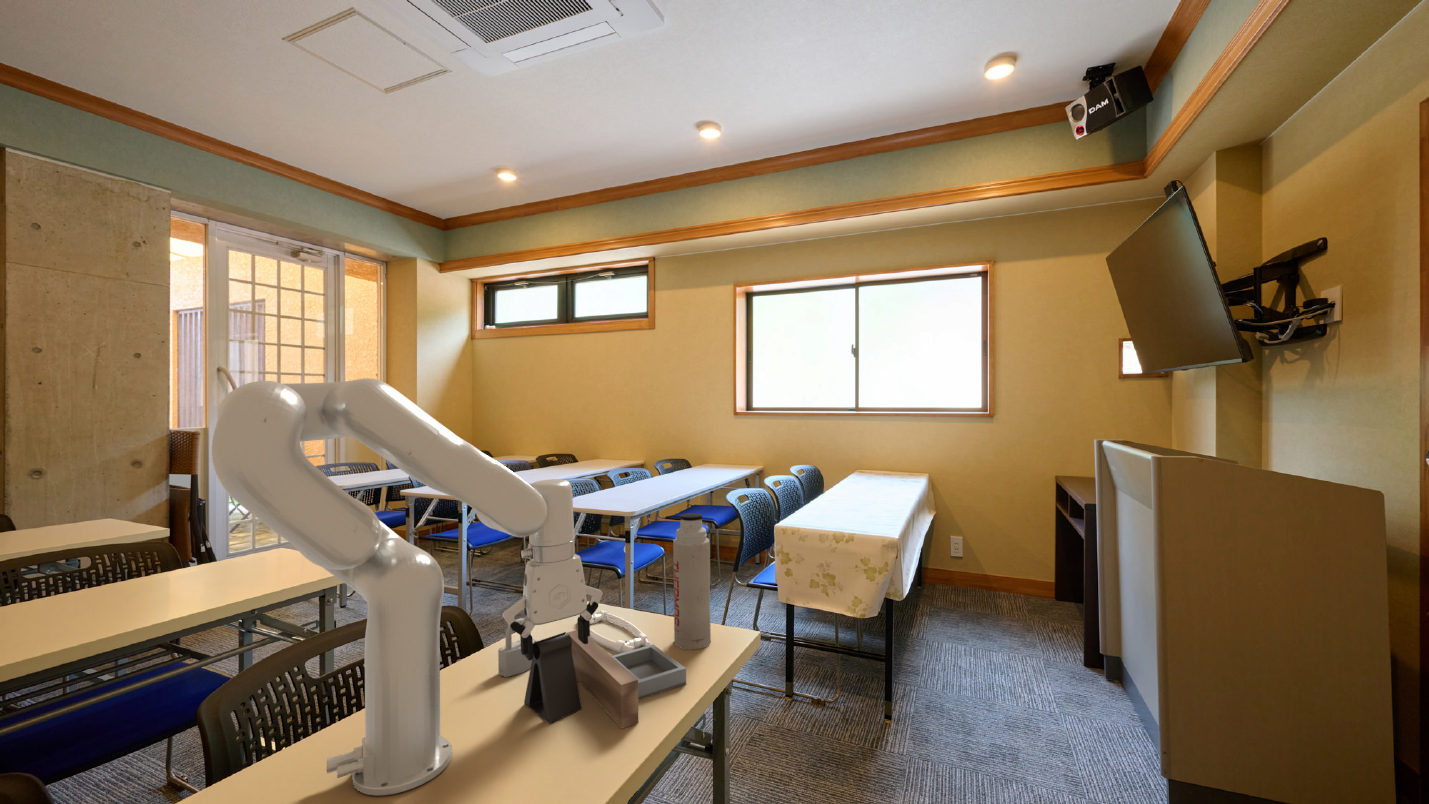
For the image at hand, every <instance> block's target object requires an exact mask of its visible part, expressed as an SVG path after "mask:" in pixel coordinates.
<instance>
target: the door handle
mask: <svg viewBox="0 0 1429 804" xmlns="http://www.w3.org/2000/svg"><path fill="white" fill-rule="evenodd" d="M578 617H580V615H578ZM601 621H602V622H603V621H604V622H609V623H611V622H612V624H613V625H616V624H617V625H616V626H618V625H619V626H618V627H620V626H622V627H621V628H623V627H624V628H625V629H624V628H623V629H624V630H626V629H628V630H627V631H628V632H630V631H631V632H632V633H631V632H630V633H631V634H632V635H634V636H635V638H633V639H629V640H625V641H624V640H622V639H619V640H616V641H615V640H612V639H610V638H608V637H605V636H603V635H602V634H599V633H597V632H596V631H595V630H593V629H592V628H591V627H590V636H589V637H590V638H591V639H592V640H594V641H595V642H596V643H597V644H598V645H599V646H602V647H605V648H607V649H609V650H612V651H614V652H615V653H617V652H618V653H617V654H620V653H624V652H627V651H631V650H634V649H638V648H640V647H641V646H642V645H643V646H642V647H645V646H649V645H651V644H650V642H649V637H648V636H647V634H645V632H642V630H640V629H639V628H638V627H637V626H636V625H634V624H633V623H632V622H630V621H628V620H626V619H624V618H622V617H620V616H617V615H614V614H613V613H610V612H609V611H606V610H599V611H597V612H596V613H595V614H593V615H592V619H591V620H590V621H589V622H590V625H593V624H597V623H599V622H601ZM636 636H637V637H638V638H637V637H636Z"/></svg>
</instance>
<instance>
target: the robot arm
mask: <svg viewBox="0 0 1429 804" xmlns="http://www.w3.org/2000/svg"><path fill="white" fill-rule="evenodd" d="M218 406H219V407H218V409H217V410H218V411H217V422H216V424H215V428H214V430H213V431H214V432H213V435H212V440H211V458H212V459H211V460H212V463H213V467H214V470H215V474H216V476H217V478H218V480H219V482H220V484H221V486H222V487H223V489H224V490H225V491H226V492H227V493H228V495H229V496H230V497H232V499H233V500H234V501H236V503H238V504H239V505H240V506H242V508H244V509H245V510H246V511H248V512H249V513H250V514H251V515H253V516H254V517H255V518H256V519H258V520H259V521H261V522H262V523H263V524H265V525H266V526H267V527H268V528H269V529H270V530H271V531H273V532H274V533H276V534H277V535H278V536H280V537H281V538H282V539H284V540H285V541H287V542H288V543H289V544H290V545H292V546H294V547H295V549H296V550H297V552H298V553H300V554H301V555H302V556H303V557H304V558H305V559H306V560H308V561H309V562H311V563H312V564H315V565H316V566H319V567H321V568H322V569H324V570H325V571H327V572H329V573H330V574H331V575H333V576H334V577H335V578H336V579H338V580H340V581H341V582H342V583H344V584H345V585H347V586H348V587H349V588H351V589H352V590H353V591H355V592H356V593H358V594H359V595H360V596H361V597H362V598H363V599H364V601H365V602H366V604H367V615H366V616H367V620H366V628H365V636H364V714H365V715H364V722H365V723H364V724H365V725H364V726H365V728H364V729H365V730H364V731H365V733H364V736H365V737H362V738H361V745H359V746H356V747H354V748H353V750H352V751H348V752H345V753H340V754H336V755H333V756H330V757H327V758H326V774H330V773H334V772H336V779H340V778H342V777H346V776H349V775H351V774H352V779H351V780H353V781H352V786H353V785H354V786H353V788H354V789H355V788H356V789H357V791H358V792H359V791H360V793H361V792H362V794H364V795H368V796H388V795H395V794H400V793H403V792H407V791H409V790H412V789H416V788H417V787H419V786H422V785H424V784H426V783H428V782H429V781H431V780H432V779H434V778H435V777H437V776H438V775H439V774H440V773H442V772H443V771H444V770H445V769H446V768H447V767H448V765H449V763H450V762H451V760H452V757H453V745H452V743H451V741H449V740H448V739H447V738H446V737H443V736H441V668H440V667H441V664H440V663H441V661H440V660H441V659H440V658H441V654H440V653H441V652H440V646H441V645H440V644H441V643H440V640H441V639H440V634H441V633H440V631H441V630H440V629H441V626H440V625H441V613H442V607H443V600H444V591H445V580H444V574H443V571H442V568H441V566H440V564H439V563H438V561H437V560H436V559H435V557H434V556H432V555H431V554H430V553H429V552H427V551H425V550H424V549H422V548H420V547H418V546H416V545H415V544H411V543H410V542H408V541H407V540H405V539H404V538H403V537H401V536H400V535H399V534H398V533H396V532H395V531H394V530H393V529H391V528H390V527H389V526H387V525H386V524H385V523H384V522H383V521H381V520H380V519H379V518H378V516H377V514H376V513H375V512H374V511H373V509H372V508H370V507H369V505H367V504H366V503H364V502H362V501H361V500H359V499H356V498H355V497H353V496H352V495H350V493H348V492H347V491H345V490H344V489H343V488H341V487H340V486H339V485H338V484H337V483H335V482H334V481H333V480H331V479H330V478H329V477H328V476H327V475H326V474H325V473H323V472H322V471H321V470H320V469H319V468H318V467H317V466H316V465H314V464H313V463H312V462H311V461H310V460H309V459H308V458H307V457H306V455H305V454H304V452H303V449H302V447H301V443H302V442H313V441H322V440H323V441H325V440H334V439H343V438H353V439H355V440H357V441H358V442H359V443H360V444H362V445H363V446H365V447H367V448H368V449H369V450H371V451H372V452H374V453H376V454H377V455H379V456H380V457H382V458H383V459H385V460H386V461H388V462H389V463H391V464H392V465H393V466H395V467H396V468H398V469H399V470H401V471H402V472H404V473H405V474H406V475H408V476H409V477H411V478H412V479H414V480H415V481H417V482H418V483H421V484H423V485H425V486H426V487H428V488H430V489H432V490H435V491H437V492H439V493H443V494H445V495H448V496H450V497H452V498H454V499H457V500H458V501H460V502H462V503H464V504H465V505H467V506H469V507H470V508H472V509H474V510H475V514H476V516H477V519H478V520H479V521H480V522H481V523H482V524H483V525H485V526H486V527H487V528H490V529H492V530H496V531H498V532H503V533H505V534H508V535H509V536H512V537H516V538H526V537H529V538H528V539H529V540H528V541H529V543H528V544H527V545H528V546H527V548H525V549H522V550H520V555H521V558H522V559H525V558H526V559H529V560H528V561H526V563H525V564H526V565H525V569H524V576H523V577H524V578H523V586H522V587H523V589H522V590H523V591H522V592H523V593H522V598H520V599H519V600H518V601H517V602H515V603H514V604H512V605H511V606H510V607H509V608H507V609H506V610H504V611H503V612H502V617H503V619H504V621H505V622H506V623H507V626H508V625H509V626H510V628H511V629H512V632H515V633H517V634H518V635H519V639H520V640H519V641H521V653H522V655H525V656H526V658H527V659H528V660H529V661H530V660H532V659H533V639H534V638H533V636H532V635H530V632H531V633H532V631H533V630H534V628H535V626H541V625H545V624H549V623H553V622H554V623H555V622H557V621H558V622H559V621H560V620H561V621H562V620H564V619H569V618H572V617H576V616H578V617H577V620H576V621H577V630H578V639H579V640H580V641H581V642H582V643H583V644H588V636H590V628H591V627H590V625H591V624H590V622H589V621H590V620H591V619H592V616H593V615H595V614H594V613H595V612H596V611H597V609H598V608H599V603H600V602H601V599H602V597H603V593H604V592H603V591H602V590H601V589H599V588H595V587H592V586H589V585H586V580H585V575H584V568H583V563H582V559H581V556H580V555H579V554H577V553H576V551H575V550H576V548H575V525H574V524H575V522H574V521H575V520H574V498H573V496H574V495H573V487H572V484H571V482H569V480H566V479H560V478H556V479H555V478H552V479H550V478H549V479H542V480H537V481H534V482H532V483H531V482H529V483H528V482H527V481H526V480H524V479H523V478H521V476H519V475H517V474H516V473H515V472H513V471H512V470H511V469H509V468H508V467H507V466H505V465H504V464H502V463H500V462H499V461H497V460H496V459H494V458H493V457H491V456H490V455H487V454H486V453H484V452H482V451H481V450H480V449H479V448H477V447H475V446H474V445H472V444H471V443H469V442H468V441H466V439H463V438H461V437H460V436H459V435H457V434H455V433H454V432H453V431H452V430H450V429H449V428H447V427H446V426H445V425H443V423H441V422H439V421H438V420H437V419H435V418H434V417H432V416H431V415H430V414H429V413H427V412H426V411H425V410H424V409H422V408H421V407H420V406H418V405H417V404H416V403H415V402H413V401H411V400H410V399H409V398H408V397H407V396H405V395H403V393H401V392H400V391H398V390H397V389H396V388H394V387H393V386H391V385H390V384H388V383H387V382H384V381H381V380H379V379H377V378H367V377H366V378H358V379H353V380H346V381H344V380H343V381H332V382H308V383H306V382H304V383H296V382H295V383H282V382H281V383H280V382H278V381H273V380H257V381H251V382H248V383H246V384H245V383H244V384H243V385H240V386H238V387H236V388H234V389H232V390H231V391H230V392H229V393H227V394H226V395H225V396H224V398H223V399H222V401H221V402H220V404H219V405H218ZM587 595H588V596H591V598H590V599H591V600H590V601H589V602H588V598H587ZM521 611H522V612H523V616H524V617H523V618H524V619H523V621H522V622H521V624H519V623H518V622H517V621H516V620H517V619H515V617H516V616H517V614H519V613H520V612H521ZM579 616H580V617H579ZM356 789H355V790H356Z"/></svg>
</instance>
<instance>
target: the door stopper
mask: <svg viewBox="0 0 1429 804" xmlns="http://www.w3.org/2000/svg"><path fill="white" fill-rule="evenodd" d="M566 633H567V632H566V631H564V632H562V633H558V634H555V635H552V636H549V637H547V638H543V639H540V640H536V641H537V642H534V643H533V659H532V663H531V668H530V669H529V673H528V674H529V675H528V681H527V686H526V689H525V690H526V691H525V696H524V701H523V705H524V706H526V707H527V708H528V709H529V710H531V711H532V712H534V714H536V715H537V716H539V717H540V718H541V719H543V720H544V721H546V722H547V723H548V724H551V723H552V724H553V723H554V722H556V721H558V720H561V719H563V718H565V717H568V716H570V715H571V714H572V715H573V714H574V713H576V712H578V711H581V710H582V709H583V705H582V701H581V695H580V688H579V685H578V680H577V679H576V673H575V668H574V662H573V657H572V640H571V637H570V635H569V633H568V634H566Z"/></svg>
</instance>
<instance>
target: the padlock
mask: <svg viewBox="0 0 1429 804" xmlns="http://www.w3.org/2000/svg"><path fill="white" fill-rule="evenodd" d="M524 618H525V617H521V618H517V619H515V620H516V621H517V622H518V623H519V624H521V622H522V621H523V619H524ZM512 633H513V630H512V629H511V628H510V626H509V625H508V624H507V627H506V630H505V645H504V646H501V647H500V648H498V651H497V653H498V654H497V655H498V657H497V659H498V662H497V663H498V665H497V666H498V674H500V675H501V676H502V677H504V678H509V677H512V676H515V675H519V674H521V673H525V672H527V671H528V670H530V668H531V663H532V660H530V661H529V660H528V659H527V658H526V656H525V655H522V653H521V641H520V640H516V641H513V640H512V639H513V638H512ZM531 634H532V631H531V632H530V635H531ZM531 636H532V635H531ZM512 641H513V642H512ZM537 641H538V640H536V639H534V638H533V643H534V642H537Z"/></svg>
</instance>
